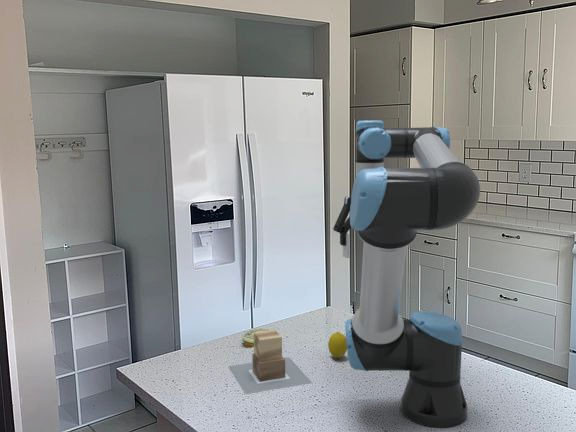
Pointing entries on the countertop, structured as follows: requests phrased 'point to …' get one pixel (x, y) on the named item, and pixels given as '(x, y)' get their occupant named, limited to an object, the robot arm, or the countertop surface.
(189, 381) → the countertop surface
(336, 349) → the lemon
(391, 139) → the robot arm
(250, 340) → the decorated donut
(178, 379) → the countertop surface
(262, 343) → the oak cube
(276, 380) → the grey square plate
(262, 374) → the walnut base
